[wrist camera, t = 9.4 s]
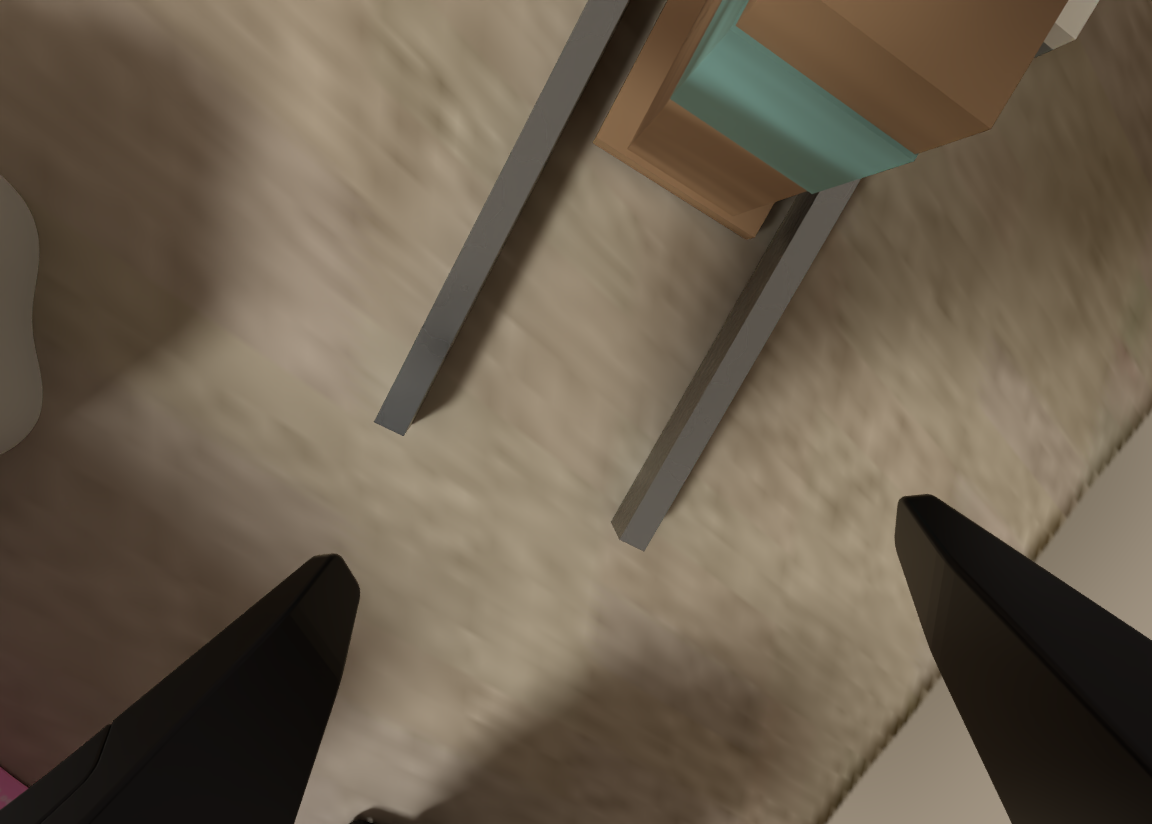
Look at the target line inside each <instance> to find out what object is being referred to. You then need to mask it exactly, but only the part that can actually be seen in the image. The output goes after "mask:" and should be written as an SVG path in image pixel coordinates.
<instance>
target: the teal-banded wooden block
mask: <svg viewBox="0 0 1152 824" xmlns="http://www.w3.org/2000/svg"><path fill="white" fill-rule="evenodd" d="M1067 2H1068V0H667V2H666V4H665V6H664V8H663V10H662V12H661V13H660V15H659V17H658V19H657V21H656V23H655V25H654V27H653V29H652V31H651V33H650V34H649V36H648V38H647V40H646V42H645V44H644V46H643V48H642V50H641V52H640V54H639V55H638V57H637V59H636V61H635V63H634V65H633V67H632V69H631V71H630V73H629V75H628V77H627V78H626V80H625V82H624V84H623V86H622V88H621V90H620V92H619V94H618V96H617V98H616V99H615V101H614V103H613V105H612V107H611V109H610V111H609V113H608V115H607V117H606V119H605V120H604V122H603V124H602V126H601V128H600V130H599V132H598V134H597V136H596V138H595V140H594V141H593V143H594V144H595V145H597V146H598V147H600V148H601V149H603V150H605V151H606V152H608V153H609V154H611V155H613V156H614V157H616V158H617V159H619V160H621V161H622V162H624V163H625V164H627V165H628V166H630V167H632V168H633V169H635V170H636V171H638V172H640V173H641V174H643V175H644V176H646V177H647V178H649V179H651V180H652V181H654V182H655V183H657V184H659V185H660V186H662V187H663V188H665V189H666V190H668V191H670V192H671V193H673V194H674V195H676V196H678V197H679V198H681V199H682V200H684V201H686V202H687V203H689V204H690V205H692V206H693V207H695V208H697V209H698V210H700V211H701V212H703V213H705V214H706V215H708V216H709V217H711V218H712V219H714V220H716V221H717V222H719V223H720V224H722V225H724V226H725V227H727V228H728V229H730V230H731V231H733V232H735V233H736V234H738V235H739V236H741V237H743V238H744V239H751V238H755V236H756V234H757V233H758V231H759V229H760V227H761V225H762V224H763V222H764V220H765V218H766V217H767V215H768V213H769V211H770V210H771V208H772V206H773V204H774V203H775V202H776V201H779V200H782V199H785V198H788V197H791V196H794V195H797V194H800V193H803V192H806V191H808V192H810V193H811V194H814V193H817V192H820V191H823V190H826V189H829V188H833V187H836V186H839V185H842V184H845V183H848V182H851V181H854V180H857V179H860V178H864V177H867V176H870V175H873V174H876V173H879V172H882V171H885V170H888V169H891V168H895V167H898V166H901V165H904V164H907V163H910V162H913V161H915V159H916V157H917V156H918V154H919V153H921V152H924V151H927V150H930V149H933V148H936V147H939V146H942V145H945V144H948V143H951V142H954V141H957V140H960V139H963V138H966V137H969V136H972V135H975V134H978V133H981V132H984V131H987V130H990V129H991V128H992V126H993V125H994V123H995V121H996V120H997V118H998V116H999V115H1000V113H1001V111H1002V110H1003V108H1004V106H1005V105H1006V103H1007V102H1008V100H1009V98H1010V97H1011V95H1012V93H1013V92H1014V90H1015V88H1016V87H1017V85H1018V83H1019V82H1020V80H1021V78H1022V77H1023V75H1024V73H1025V72H1026V70H1027V68H1028V67H1029V65H1030V63H1031V62H1032V60H1033V58H1034V57H1035V55H1036V53H1037V52H1038V50H1039V48H1040V47H1041V45H1042V43H1043V42H1044V40H1045V38H1046V37H1047V35H1048V33H1049V32H1050V30H1051V28H1052V27H1053V25H1054V23H1055V22H1056V20H1057V19H1058V17H1059V15H1060V14H1061V12H1062V10H1063V9H1064V7H1065V5H1066V4H1067Z"/></svg>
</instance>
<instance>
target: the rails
mask: <svg viewBox="0 0 1152 824" xmlns="http://www.w3.org/2000/svg"><path fill="white" fill-rule="evenodd" d="M629 2H630V0H588V2H587V4H586V6H585V8H584V10H583V12H582V14H581V16H580V18H579V20H578V22H577V24H576V25H575V27H574V29H573V31H572V33H571V35H570V37H569V39H568V41H567V43H566V45H565V47H564V49H563V51H562V53H561V55H560V57H559V59H558V61H557V63H556V65H555V67H554V69H553V71H552V73H551V75H550V77H549V79H548V81H547V83H546V85H545V86H544V88H543V90H542V92H541V94H540V96H539V98H538V100H537V102H536V104H535V106H534V108H533V110H532V112H531V114H530V116H529V118H528V120H527V122H526V124H525V126H524V128H523V130H522V132H521V134H520V136H519V138H518V140H517V142H516V144H515V146H514V147H513V149H512V151H511V153H510V155H509V157H508V159H507V161H506V163H505V165H504V167H503V169H502V171H501V173H500V175H499V177H498V179H497V181H496V183H495V185H494V187H493V189H492V191H491V193H490V195H489V197H488V199H487V201H486V203H485V205H484V207H483V208H482V210H481V212H480V214H479V216H478V218H477V220H476V222H475V224H474V226H473V228H472V230H471V232H470V234H469V236H468V238H467V240H466V242H465V244H464V246H463V248H462V250H461V252H460V254H459V256H458V258H457V260H456V262H455V264H454V266H453V268H452V269H451V271H450V273H449V275H448V277H447V279H446V281H445V283H444V285H443V287H442V289H441V291H440V293H439V295H438V297H437V299H436V301H435V303H434V305H433V307H432V309H431V311H430V313H429V315H428V317H427V319H426V321H425V323H424V325H423V327H422V329H421V330H420V332H419V334H418V336H417V338H416V340H415V342H414V344H413V346H412V348H411V350H410V352H409V354H408V356H407V358H406V360H405V362H404V364H403V366H402V368H401V370H400V372H399V374H398V376H397V378H396V380H395V382H394V384H393V386H392V388H391V390H390V391H389V393H388V395H387V397H386V399H385V401H384V403H383V405H382V407H381V409H380V411H379V413H378V415H377V417H376V419H375V421H374V422H375V423H377V424H379V425H381V426H383V427H385V428H387V429H389V430H392V431H394V432H396V433H398V434H400V435H402V436H404V435H405V433H406V432H407V430H408V429H409V428H410V426H411V424H412V422H413V420H414V419H415V417H416V415H417V413H418V411H419V409H420V407H421V405H422V403H423V401H424V399H425V397H426V395H427V393H428V391H429V389H430V388H431V386H432V384H433V382H434V380H435V378H436V376H437V374H438V372H439V370H440V368H441V366H442V364H443V362H444V360H445V358H446V357H447V355H448V353H449V351H450V349H451V347H452V345H453V343H454V341H455V339H456V337H457V335H458V333H459V331H460V329H461V328H462V326H463V324H464V322H465V320H466V318H467V316H468V314H469V312H470V310H471V308H472V306H473V304H474V302H475V300H476V298H477V297H478V295H479V293H480V291H481V289H482V287H483V285H484V283H485V281H486V279H487V277H488V275H489V273H490V271H491V269H492V267H493V266H494V264H495V262H496V260H497V258H498V256H499V254H500V252H501V250H502V248H503V246H504V244H505V242H506V240H507V238H508V236H509V235H510V233H511V231H512V229H513V227H514V225H515V223H516V221H517V219H518V217H519V215H520V213H521V211H522V209H523V207H524V206H525V204H526V202H527V200H528V198H529V196H530V194H531V192H532V190H533V188H534V186H535V184H536V182H537V180H538V178H539V176H540V175H541V173H542V171H543V169H544V167H545V165H546V163H547V161H548V159H549V157H550V155H551V153H552V151H553V149H554V147H555V145H556V144H557V142H558V140H559V138H560V136H561V134H562V132H563V130H564V128H565V126H566V124H567V122H568V120H569V118H570V116H571V115H572V113H573V111H574V109H575V107H576V105H577V103H578V101H579V99H580V97H581V95H582V93H583V91H584V89H585V87H586V85H587V84H588V82H589V80H590V78H591V76H592V74H593V72H594V70H595V68H596V66H597V64H598V62H599V60H600V58H601V56H602V54H603V53H604V51H605V49H606V47H607V45H608V43H609V41H610V39H611V37H612V35H613V33H614V31H615V29H616V27H617V25H618V24H619V22H620V20H621V18H622V16H623V14H624V12H625V10H626V8H627V6H628V4H629ZM860 180H861V178H860V179H857V180H854V181H851V182H848V183H845V184H842V185H839V186H836V187H833V188H829V189H826V190H823V191H820V192H817V193H814V194H811V193H810V192H808V191H806V192H803V193H800V194H798V196H797V197H796V199H795V201H794V203H793V204H792V206H791V208H790V210H789V211H788V213H787V215H786V217H785V218H784V220H783V222H782V224H781V225H780V227H779V229H778V231H777V232H776V234H775V236H774V238H773V239H772V241H771V243H770V245H769V246H768V248H767V250H766V252H765V253H764V255H763V257H762V259H761V260H760V262H759V264H758V266H757V267H756V269H755V271H754V273H753V274H752V276H751V278H750V280H749V281H748V283H747V285H746V287H745V288H744V290H743V292H742V294H741V295H740V297H739V299H738V301H737V302H736V304H735V306H734V308H733V309H732V311H731V313H730V315H729V316H728V318H727V320H726V322H725V323H724V325H723V327H722V329H721V330H720V332H719V334H718V336H717V337H716V339H715V341H714V343H713V344H712V346H711V348H710V350H709V351H708V353H707V355H706V357H705V358H704V360H703V362H702V364H701V365H700V367H699V369H698V371H697V372H696V374H695V376H694V378H693V379H692V381H691V383H690V385H689V386H688V388H687V390H686V392H685V393H684V395H683V397H682V399H681V400H680V402H679V404H678V406H677V407H676V409H675V411H674V413H673V414H672V416H671V418H670V420H669V421H668V423H667V425H666V427H665V428H664V430H663V432H662V434H661V435H660V437H659V439H658V441H657V443H656V444H655V446H654V448H653V450H652V451H651V453H650V455H649V457H648V458H647V460H646V462H645V464H644V465H643V467H642V469H641V471H640V472H639V474H638V476H637V478H636V479H635V481H634V483H633V485H632V486H631V488H630V490H629V492H628V493H627V495H626V497H625V499H624V500H623V502H622V504H621V506H620V507H619V509H618V511H617V513H616V514H615V516H614V518H613V520H612V521H611V523H612V525H613V527H614V529H615V531H616V534H617V536H618V538H619V540H621V541H623V542H625V543H628V544H630V545H632V546H634V547H636V548H638V549H640V550H642V551H645V549H646V547H647V546H648V544H649V542H650V540H651V539H652V537H653V535H654V534H655V532H656V530H657V528H658V527H659V525H660V523H661V522H662V520H663V518H664V516H665V515H666V513H667V511H668V510H669V508H670V506H671V504H672V503H673V501H674V499H675V498H676V496H677V494H678V492H679V491H680V489H681V487H682V485H683V484H684V482H685V480H686V479H687V477H688V475H689V473H690V472H691V470H692V468H693V467H694V465H695V463H696V461H697V460H698V458H699V456H700V455H701V453H702V451H703V449H704V448H705V446H706V444H707V443H708V441H709V439H710V437H711V436H712V434H713V432H714V430H715V429H716V427H717V425H718V424H719V422H720V420H721V418H722V417H723V415H724V413H725V412H726V410H727V408H728V406H729V405H730V403H731V401H732V400H733V398H734V396H735V394H736V393H737V391H738V389H739V388H740V386H741V384H742V382H743V381H744V379H745V377H746V376H747V374H748V372H749V370H750V369H751V367H752V365H753V363H754V362H755V360H756V358H757V357H758V355H759V353H760V351H761V350H762V348H763V346H764V345H765V343H766V341H767V339H768V338H769V336H770V334H771V333H772V331H773V329H774V327H775V326H776V324H777V322H778V321H779V319H780V317H781V315H782V314H783V312H784V310H785V309H786V307H787V305H788V303H789V302H790V300H791V298H792V296H793V295H794V293H795V291H796V290H797V288H798V286H799V284H800V283H801V281H802V279H803V278H804V276H805V274H806V272H807V271H808V269H809V267H810V266H811V264H812V262H813V260H814V259H815V257H816V255H817V254H818V252H819V250H820V248H821V247H822V245H823V243H824V242H825V240H826V238H827V236H828V235H829V233H830V231H831V229H832V228H833V226H834V224H835V223H836V221H837V219H838V217H839V216H840V214H841V212H842V211H843V209H844V207H845V205H846V204H847V202H848V200H849V199H850V197H851V195H852V193H853V192H854V190H855V188H856V187H857V185H858V183H859V181H860Z"/></svg>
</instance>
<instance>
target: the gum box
mask: <svg viewBox="0 0 1152 824" xmlns="http://www.w3.org/2000/svg"><path fill="white" fill-rule="evenodd" d="M27 789H28V787H26V786H25V785H23V784H22V783H21V782H19V781H18V780H17V779H15V778H14V777H12V776H11V775H10V774H9V773H7V772H6V771H5V770H4V769H2V768H1V767H0V810H1V809H2V808H3V807H5V806H6V805H7V804H8V803H10V802H11V801H12V800H14V799H15V798H16V797H18V796H19V795H20V794H22V793H23V792H24V791H26V790H27Z"/></svg>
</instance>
